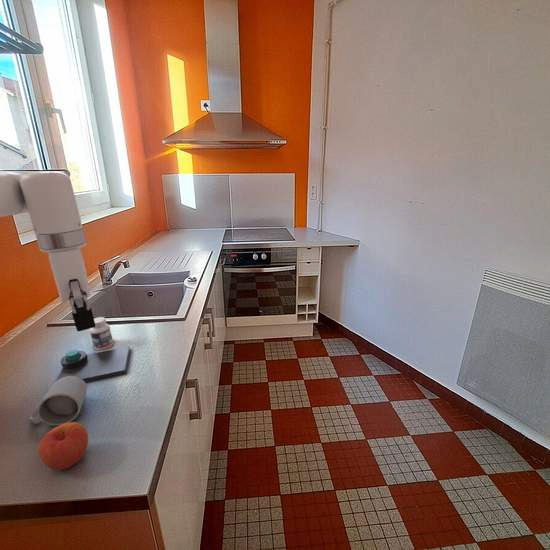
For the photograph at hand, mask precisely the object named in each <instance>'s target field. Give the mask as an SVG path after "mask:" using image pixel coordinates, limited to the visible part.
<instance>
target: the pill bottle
mask: <svg viewBox="0 0 550 550" xmlns="http://www.w3.org/2000/svg"><path fill="white" fill-rule="evenodd" d="M94 321H95V325H96V326H95V327H93V328H90V329H89V333H90V338H91V341H92V345H93V347H94V349H95V350H97V351H98V350H99V351H100V350H105V349H108V348H110V347H112V346H113V344H114V340H113V335H112V331H111V328H110V325H109V324H108V323H107V320H106V318H105V317H104V316H98V317H94Z"/></svg>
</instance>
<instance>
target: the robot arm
mask: <svg viewBox="0 0 550 550" xmlns="http://www.w3.org/2000/svg"><path fill="white" fill-rule="evenodd" d="M78 207H79V206H78V203H77V199H76V196H75V192H74V188H73V183H72V180H71V178H70V176H69V175H68V174H66V173H65V172H62V171H32V172H24V173H23V172H16V171H15V172H14V171H0V218H4V217H10V216H15V215H21V214H24V213H28V214H29V219H30V221H31V225H32V229H33V231H34V235H35V238H36V241H37V245H38V249H39V251H40V252H42V253H47V254H48V260H49V264H50V268H51V271H52V275H53V279H54V282H55V286H56V289H57V293H58V296H59V299H60V302H61V303H62V304H63V303H66V302H68V301H69V303H70V307H71V311H72V312H71V314H72V318H73V319H72V320H73V322H74V325H75V329H76V331H77V332H82V331H86V330H90V328H93V327H95V326H96V325H95V321H94V319H95V317H94V314H93V311H92V307H90V304H89V300H88V298H89V297H90V295H91V293H90V287H89V280H88V274H87V269H86V266H85V261H84V256H83V253H82V248H84V247H86V246H87V239H86V236H85V232H84V228H83V224H82V219H81V216H80V211H79V208H78Z"/></svg>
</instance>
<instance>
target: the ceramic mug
mask: <svg viewBox="0 0 550 550" xmlns="http://www.w3.org/2000/svg"><path fill="white" fill-rule="evenodd" d="M56 380H57V379H56ZM56 380H55V382H54V383H53V384H51V386H50V388H48V390H47V392H46V393H45V395H44V397H43V398H42V399H41V401H40V402H39V404H38V406H37V408H36V409H35V410H34V411H33V412H32V413H31V415H30V417H29V421H30V422H32V423H33V424H35V425H39V424H41V423H42V422H43V423H45V424H46V425H49V426H59V425H62V424H64V423H68V422H74V420H75V419H76V418H77V417H78V416H79V414H80V412H81V409H82V406H83V404H84V401H85V398H86V395H87V392H88V391H87V390H88V387H87V382H86V383H85V382H84V381H83V380H82V379H81V378H79V377H76V376H66V377H63V378H60V379H59V380H57V381H56Z"/></svg>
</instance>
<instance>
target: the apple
mask: <svg viewBox="0 0 550 550" xmlns="http://www.w3.org/2000/svg"><path fill="white" fill-rule="evenodd" d="M88 444H89V434H88V430H87V429H86V427H85V426H84V425H83V424H81V423H79V422H77V421H76V422H75V421H71V422H68V423H64V424H62V425H56V426H55V427H54V428H52V429H51V430H50V431H48V432H47V433H46V434H45V435H44V436H43V438H42V439H41V441H40V443H39V445H38V457H39V459H40V462H42V464H43V465H44V466H46V467H48V469H52V470H56V471H58V470H59V471H62V470H65V469H68V468H70V467H72V466H74V465H76V464H77V463H78V462H79V461H80V460H81V459H82V458H83V457H84V455H85V453H86V451H87V449H88Z"/></svg>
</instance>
